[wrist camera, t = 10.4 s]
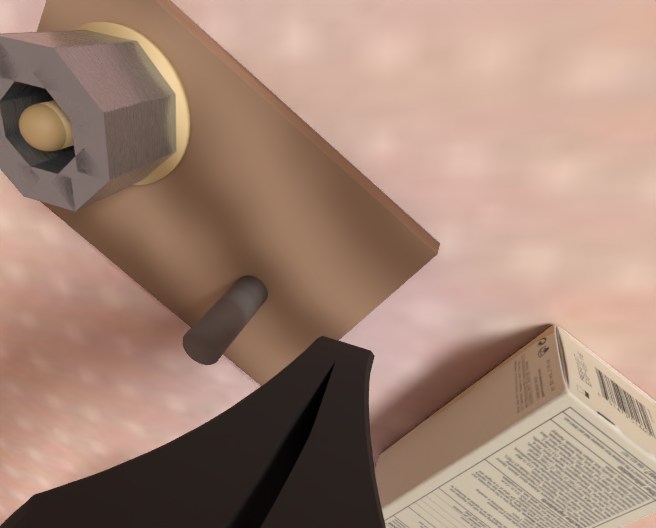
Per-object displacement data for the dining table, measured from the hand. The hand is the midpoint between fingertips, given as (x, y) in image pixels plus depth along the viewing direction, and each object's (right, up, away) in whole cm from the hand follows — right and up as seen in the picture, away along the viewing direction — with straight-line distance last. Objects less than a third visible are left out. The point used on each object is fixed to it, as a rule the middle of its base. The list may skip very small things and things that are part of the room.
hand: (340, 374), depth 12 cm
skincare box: (+11, -2, +6) cm, 13 cm away
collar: (-9, +9, +8) cm, 15 cm away
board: (-6, +6, +10) cm, 13 cm away
